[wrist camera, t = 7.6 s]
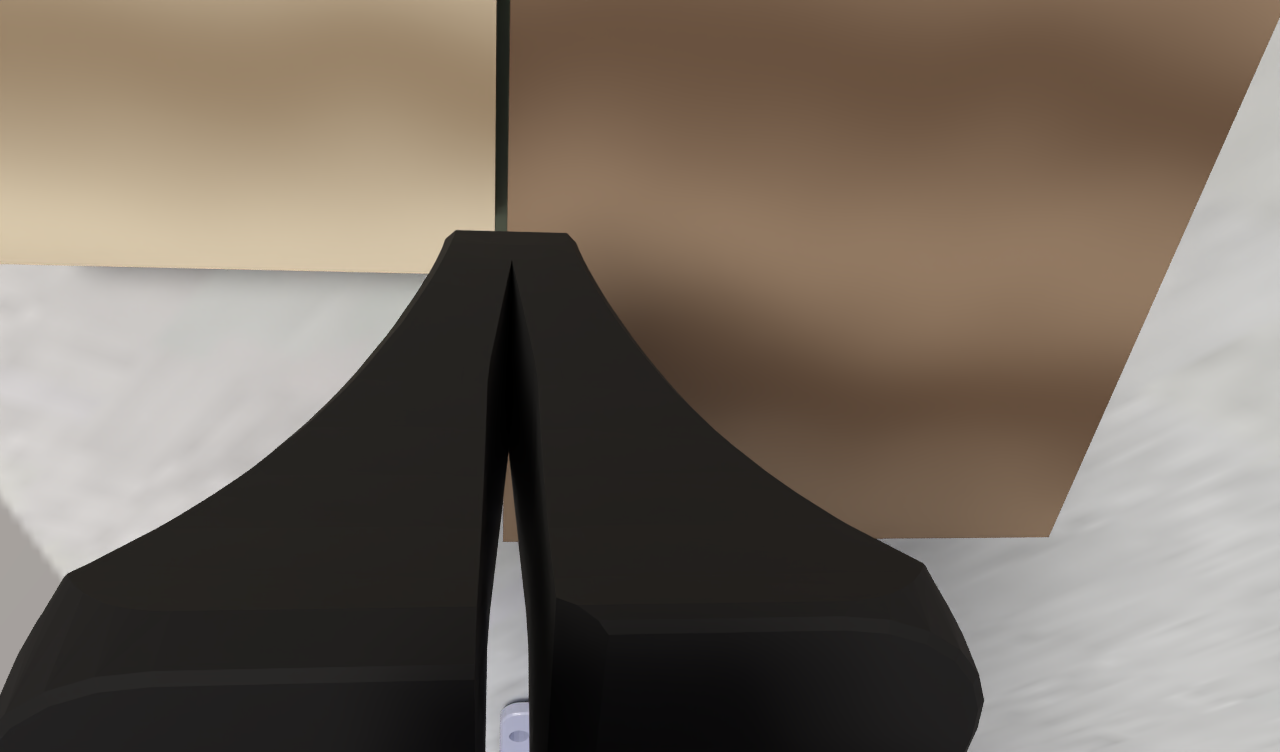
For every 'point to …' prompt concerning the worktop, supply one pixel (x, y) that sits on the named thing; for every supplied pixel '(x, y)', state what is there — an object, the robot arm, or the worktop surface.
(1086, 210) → the board
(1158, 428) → the worktop surface
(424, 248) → the birch tile
